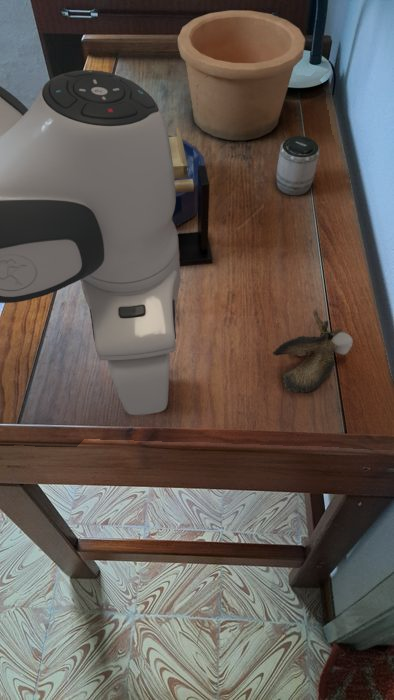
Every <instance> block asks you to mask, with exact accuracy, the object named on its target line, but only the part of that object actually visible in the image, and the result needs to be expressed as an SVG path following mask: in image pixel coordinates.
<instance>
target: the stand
mask: <svg viewBox="0 0 394 700" xmlns="http://www.w3.org/2000/svg"><path fill="white" fill-rule="evenodd" d="M209 212H210V181H209V176H208V172H207V166H206V167H205V166H198V212H197V231H192V232H181V233H177V234H178V243H179V250H180V259H179V261H180V267H184V266H196V265H207V264H213V253H212V250H211V244H210V240H209V217H210V216H209V214H210V213H209Z"/></svg>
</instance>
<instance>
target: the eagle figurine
mask: <svg viewBox="0 0 394 700" xmlns="http://www.w3.org/2000/svg"><path fill="white" fill-rule="evenodd" d="M313 317H314V319H315V321H316V324H317V325H318V330H319V333H320V334H319V336H314V335H313V336H305V335H301V336H300V335H299V336H298V337H295V338H292V339H290V340H287V341H285V342H283V343H282V344H280V345H279V346H278V347H276V348H275V350H274V351H272V354H273V356H276V357H277V356H286V355H288V356H298V357H302V356H306V358H305V360H304V361H302V362H301V363H300V364H299V365H298V366H296V367H295V368H293V369H292V370H290V371H288V372H286V373H285V374H284V375H283V376H282V378H283V383H284V387H285V388H286V389H287V390H288V391H291V392H292V391H293V392H294V393H298V392H300V393H302V394H303V393H309V392H312V391H314V390H316V388H319V386H320V384H322V383H323V382H324V379H326V378H327V377H328V376H329V374H331V373H332V371H333V369H334V367H335V361H334V357H333V356H334V353H335V354H339V355H341V356H342V355H343V356H345V355H347V354H348V353H349V352H350V350H351V348H352V347H353V343H354V340H353V337H352V335H350V334H349V333H347V332H345V331H342V330H343V329H342V328H341V327H340V328H338V329H336V330H333V331H328V328H329V321H328V320H325V321H322V320H321V318H320V316H319V313H318V311H317V309H315V308H314V309H313Z"/></svg>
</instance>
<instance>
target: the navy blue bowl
mask: <svg viewBox="0 0 394 700" xmlns="http://www.w3.org/2000/svg"><path fill="white" fill-rule="evenodd" d="M168 136H169V137H174V136H172V135H168ZM182 141H183V146H184V151H185V156H186V161H187V171H188V178H180V179H174V180H184V179H193V183H194V191H192V192H180V193H176V203H175V209H174V213H173V216H172V221H173V223H174V225H175V227H176V226H178V225H182V224H183V223H185V222H186V221H188V220H190V219H191V218H193V217H194V216H196V214H198V166H205V167H206V168H207V166H206V160H205V157H204V155H203V154H202V153H201V152H200V150H199V149H198V147H197V146H195V145H193V144H192V143H190V142H188V141H187V140H185V139H182Z"/></svg>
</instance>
